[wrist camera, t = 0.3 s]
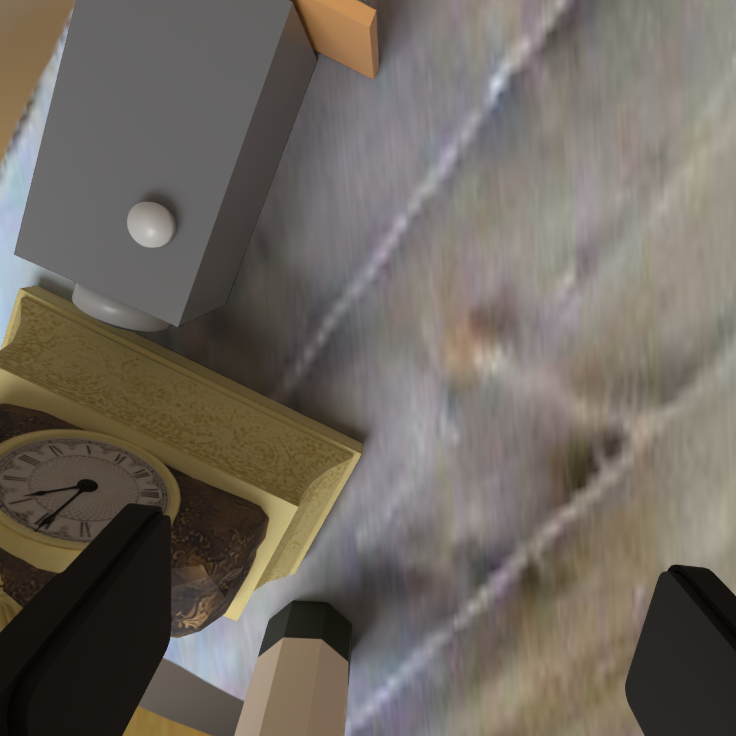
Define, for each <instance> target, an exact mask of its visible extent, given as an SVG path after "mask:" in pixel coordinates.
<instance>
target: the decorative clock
mask: <svg viewBox="0 0 736 736" xmlns="http://www.w3.org/2000/svg"><path fill="white" fill-rule="evenodd" d="M362 446H363V444H362V443H360V442H358V441H356V440H354V439H352V438H350V437H348V436H346V435H344V434H342V433H340V432H338V431H336V430H333V429H331V428H329V427H327V426H325V425H323V424H321V423H319V422H317V421H315V420H313V419H311V418H309V417H307V416H305V415H303V414H301V413H298V412H296V411H294V410H292V409H290V408H288V407H286V406H284V405H282V404H280V403H278V402H276V401H274V400H272V399H270V398H268V397H266V396H263V395H261V394H259V393H257V392H255V391H253V390H251V389H249V388H247V387H245V386H243V385H241V384H239V383H237V382H235V381H233V380H231V379H228V378H226V377H224V376H222V375H220V374H218V373H216V372H214V371H212V370H210V369H208V368H206V367H204V366H202V365H200V364H198V363H196V362H193V361H191V360H189V359H187V358H185V357H183V356H181V355H179V354H177V353H175V352H173V351H171V350H169V349H167V348H165V347H163V346H161V345H158V344H156V343H154V342H152V341H150V340H148V339H146V338H144V337H142V336H140V335H138V334H136V333H134V332H132V331H129V330H124V329H120V328H116V327H113V326H110V325H107V324H105V323H103V322H101V321H99V320H97V319H95V318H94V317H92V316H90V315H88V314H87V313H85V312H83V311H82V310H80V309H79V308H78V307H77V306H76V305H75V304H74V303H72V302H70V301H68V300H66V299H64V298H62V297H60V296H58V295H55V294H53V293H51V292H49V291H47V290H45V289H43V288H41V287H39V286H32V287H26V288H20V289H19V291H18V294H17V298H16V301H15V304H14V308H13V311H12V314H11V318H10V321H9V324H8V327H7V331H6V334H5V337H4V341H3V344H2V347H1V350H0V632H1V631H2V630H3V629H4V628H5V627H6V626H7V625H8V624H9V622H10V621H11V620H12V619H13V618H14V617H15V616H16V615H17V614H18V613H19V612H20V611H21V610H22V609H23V608H24V607H25V606H26V605H27V604H28V603H29V602H30V600H31V599H32V598H33V597H34V596H35V595H36V594H37V593H38V592H39V591H40V590H41V589H42V588H43V587H44V586H45V585H46V584H47V583H48V582H49V581H50V580H51V579H52V578H53V577H54V576H55V575H57V574H58V573H61V572H63V571H64V570H65V569H66V568H67V567H68V566H69V565H70V564H71V563H72V562H73V561H74V560H75V559H76V558H77V556H78V555H79V554H80V553H81V552H82V551H83V550H84V549H85V548H86V547H87V546H88V545H89V544H90V543H91V542H92V540H93V539H94V538H95V537H96V536H97V535H98V534H99V533H100V532H101V531H102V530H103V529H104V528H105V527H106V526H107V525H108V523H109V522H110V521H111V520H112V519H113V518H114V517H115V516H116V515H117V514H118V513H119V512H120V511H121V510H122V509H123V508H124V506H126V505H127V504H129V503H135V504H144V505H153V506H159V507H161V509H162V511H163V515H169V516H170V518H171V636H170V637H175V638H179V637H182V636H186V635H189V634H192V633H195V632H199V631H201V630H202V629H204V628H205V627H206V626H208V625H209V624H211V623H212V622H214V621H215V620H217V619H218V618H219V617H221V616H222V615H223V616H226V617H228V618H230V619H233V620H235V621H237V620H238V618H239V617H240V615H241V613H242V611H243V609H244V607H245V605H246V604H247V602H248V600H249V598H250V596H251V594H252V592H253V591H255V590H256V589H258V588H259V587H260V586H262V585H263V584H265V583H266V582H269V581H272V580H275V579H278V578H282V577H285V576H287V575H288V573H289V574H292V575H294V574H295V572H296V570H297V568H298V567H299V565H300V563H301V561H302V559H303V558H304V556H305V554H306V552H307V551H308V549H309V547H310V545H311V543H312V542H313V540H314V538H315V536H316V535H317V533H318V531H319V529H320V527H321V526H322V524H323V522H324V520H325V518H326V517H327V515H328V513H329V511H330V510H331V508H332V506H333V504H334V502H335V501H336V499H337V497H338V495H339V494H340V492H341V490H342V488H343V486H344V485H345V483H346V481H347V479H348V478H349V476H350V474H351V472H352V470H353V469H354V467H355V465H356V463H357V461H358V460H359V458H360V456H361V454H362Z"/></svg>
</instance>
